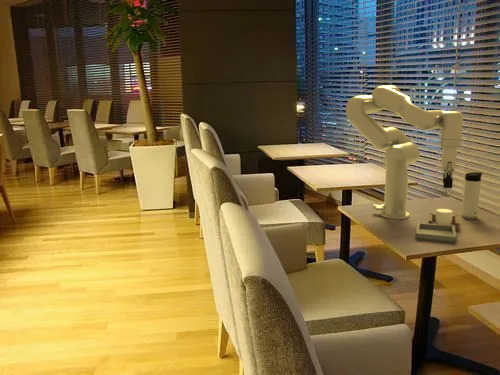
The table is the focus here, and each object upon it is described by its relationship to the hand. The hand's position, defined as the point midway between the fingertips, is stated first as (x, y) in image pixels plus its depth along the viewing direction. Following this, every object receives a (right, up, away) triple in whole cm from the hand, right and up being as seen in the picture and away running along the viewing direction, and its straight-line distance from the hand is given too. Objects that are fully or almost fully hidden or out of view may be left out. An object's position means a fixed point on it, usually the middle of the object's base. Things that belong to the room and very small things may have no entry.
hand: (447, 185), depth 192 cm
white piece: (0, -17, +4) cm, 18 cm away
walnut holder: (+1, -16, +6) cm, 18 cm away
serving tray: (-7, -20, -7) cm, 22 cm away
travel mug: (+17, -14, +17) cm, 27 cm away
